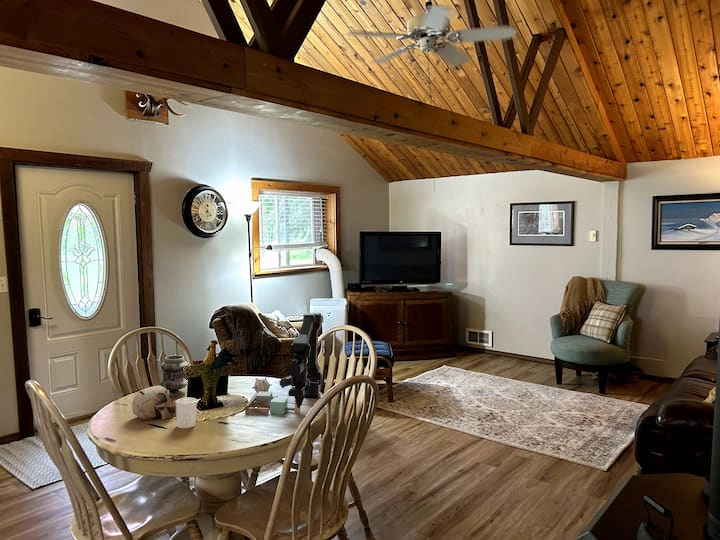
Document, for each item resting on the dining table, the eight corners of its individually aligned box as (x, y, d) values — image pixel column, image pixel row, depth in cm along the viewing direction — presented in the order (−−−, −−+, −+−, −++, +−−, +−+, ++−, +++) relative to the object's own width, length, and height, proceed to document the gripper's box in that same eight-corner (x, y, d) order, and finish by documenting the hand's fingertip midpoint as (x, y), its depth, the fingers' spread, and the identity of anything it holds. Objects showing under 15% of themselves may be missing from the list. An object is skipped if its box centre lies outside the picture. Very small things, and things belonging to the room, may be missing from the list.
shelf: (277, 401, 233) (277, 393, 233) (268, 414, 215) (268, 406, 215) (256, 400, 234) (256, 393, 233) (245, 413, 216) (245, 405, 215)
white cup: (177, 430, 196) (177, 404, 195) (174, 423, 202) (174, 398, 202) (198, 427, 199) (198, 402, 199) (194, 420, 206) (194, 396, 206)
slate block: (272, 402, 231) (272, 392, 231) (269, 407, 225) (269, 396, 225) (259, 402, 232) (259, 391, 231) (255, 406, 226) (255, 395, 225)
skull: (186, 410, 217) (183, 380, 215) (161, 429, 201) (157, 396, 199) (155, 407, 222) (152, 378, 220) (127, 425, 205) (123, 394, 203)
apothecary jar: (182, 399, 233) (182, 360, 232) (156, 398, 233) (156, 359, 232) (191, 391, 245) (191, 354, 244) (166, 390, 245) (166, 353, 244)
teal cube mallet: (301, 410, 222) (302, 392, 221) (298, 414, 216) (298, 396, 215) (274, 408, 223) (274, 390, 223) (270, 413, 217) (270, 394, 217)
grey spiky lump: (264, 403, 241) (269, 390, 236) (247, 396, 241) (251, 383, 236) (271, 389, 249) (275, 376, 243) (255, 382, 249) (259, 369, 243)
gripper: (286, 364, 228) (285, 399, 229) (276, 375, 209) (275, 413, 210) (310, 365, 227) (310, 400, 228) (303, 376, 208) (302, 414, 209)
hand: (299, 406), depth 219 cm, fingers closed on teal cube mallet, 2 cm apart
